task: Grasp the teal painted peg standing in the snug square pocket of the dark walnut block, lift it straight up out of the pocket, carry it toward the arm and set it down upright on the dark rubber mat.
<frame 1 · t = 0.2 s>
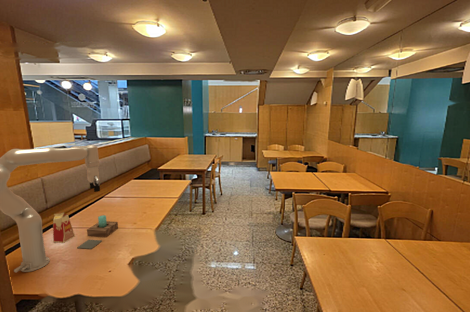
hand: (95, 189, 146), 37 cm above the table, tool pointing down, fingers open, 9 cm apart
mat: (90, 244, 147), on the table
peg: (102, 224, 163), in the pocket block
pocket block: (103, 231, 164), on the table
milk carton: (63, 239, 153), on the table
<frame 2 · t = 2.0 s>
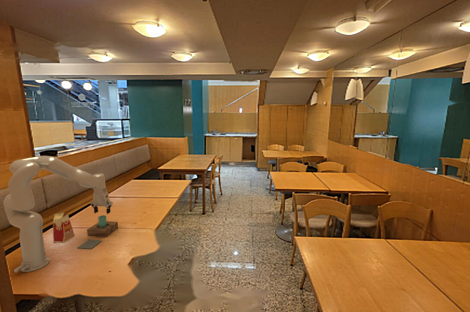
hand: (102, 212, 162), 15 cm above the table, tool pointing down, fingers open, 9 cm apart
nothing on the table moved.
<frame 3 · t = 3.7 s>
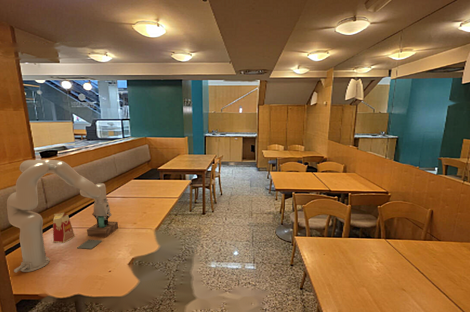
hand: (102, 223, 163), 6 cm above the table, tool pointing down, fingers closed on peg, 5 cm apart
peg: (102, 224, 163), in the pocket block, touching gripper
everything else where it was.
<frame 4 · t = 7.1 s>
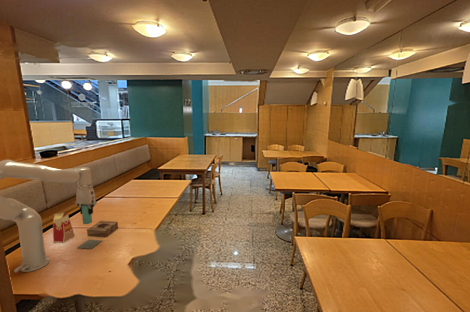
hand: (86, 213, 144), 22 cm above the table, tool pointing down, fingers closed on peg, 5 cm apart
peg: (86, 213, 144), point 22 cm above the table, touching gripper
everything else where it was.
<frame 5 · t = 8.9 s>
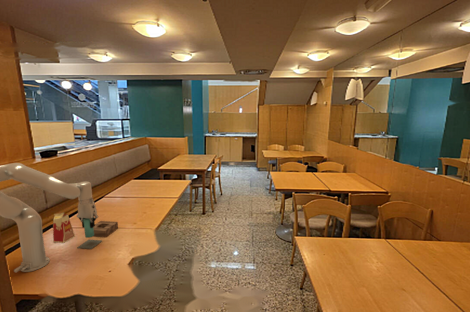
hand: (88, 226, 145), 13 cm above the table, tool pointing down, fingers closed on peg, 5 cm apart
peg: (88, 227, 145), point 12 cm above the table, touching gripper
everything else where it was.
when the fingers open (8 cm above the table, at t = 10.6 s): peg drops 1 cm, resting on mat.
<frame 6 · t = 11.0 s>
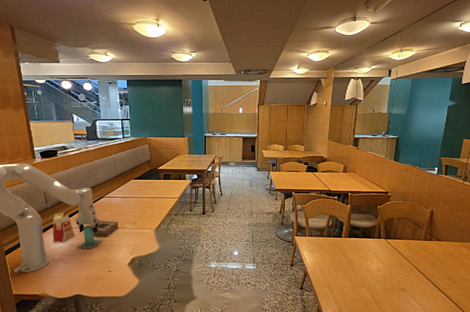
hand: (88, 231, 146), 9 cm above the table, tool pointing down, fingers open, 9 cm apart
peg: (89, 235, 146), on the mat, point 7 cm above the table
everything else where it was.
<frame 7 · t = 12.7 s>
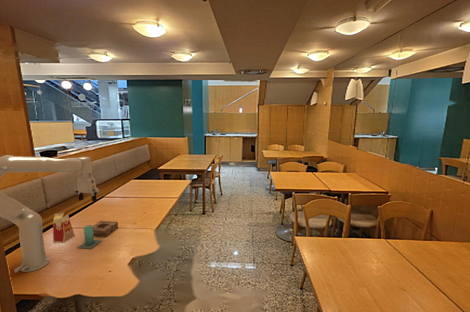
hand: (87, 200, 146), 29 cm above the table, tool pointing down, fingers open, 9 cm apart
nothing on the table moved.
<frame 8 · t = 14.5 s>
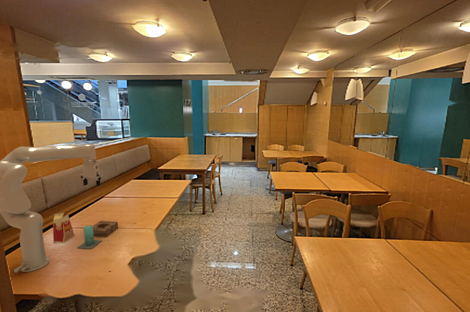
hand: (92, 185, 157), 36 cm above the table, tool pointing down, fingers open, 9 cm apart
nothing on the table moved.
at the end: peg inside the target area on the mat (0.1 cm from its centre), point 6.6 cm above the mat's base; peg tilted 0°; the gripper is holding nothing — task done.
